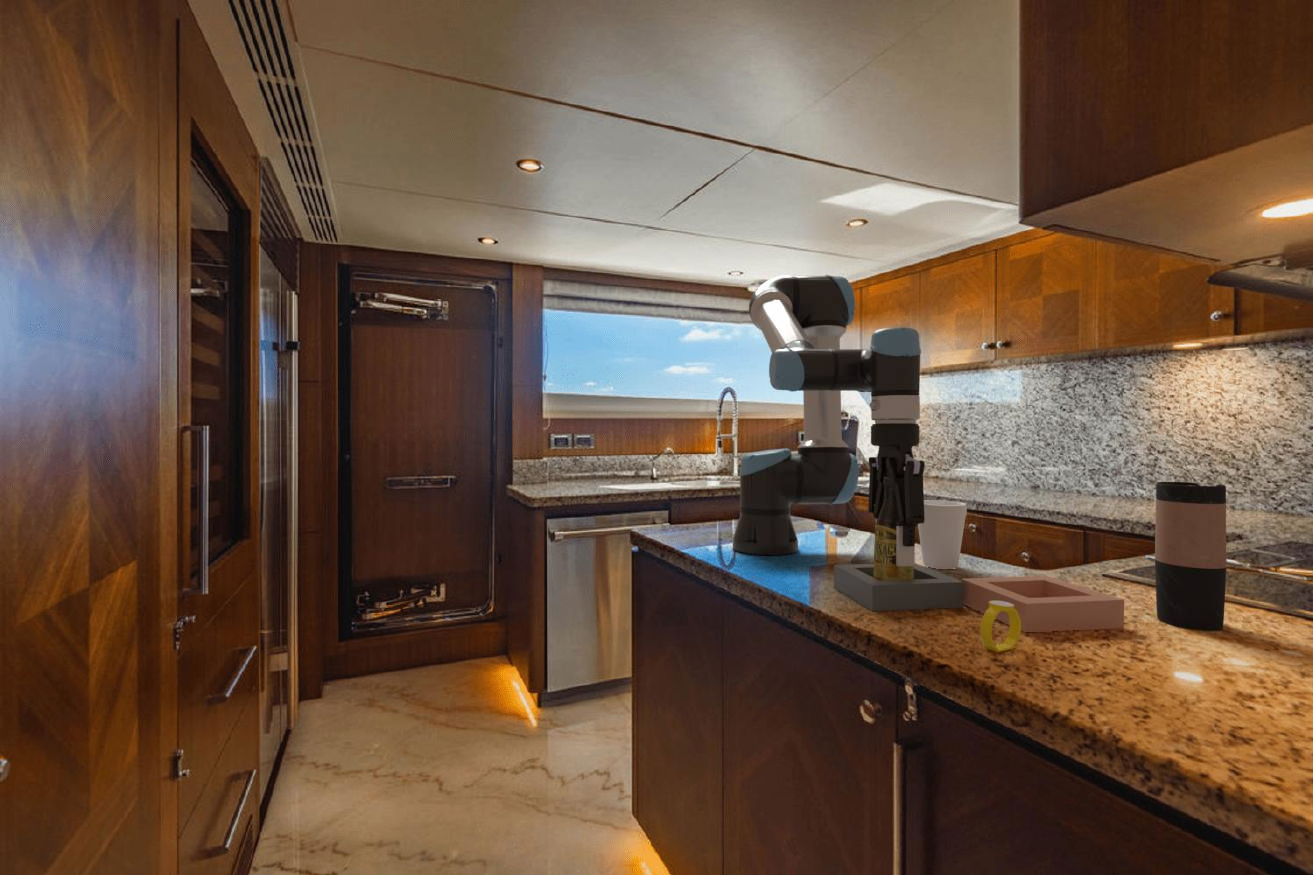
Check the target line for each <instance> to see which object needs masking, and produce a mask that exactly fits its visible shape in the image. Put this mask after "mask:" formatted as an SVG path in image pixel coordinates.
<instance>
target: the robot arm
mask: <svg viewBox="0 0 1313 875" xmlns="http://www.w3.org/2000/svg"><path fill="white" fill-rule="evenodd" d="M855 299H856V298H855V292H854V289H853V286H852V285H851V283H850V281H849V280H848V279H847V278H845V277H843V276H839V275H838V276H837V275H830V274H826V275H779V276H775V277H773V278H770V279H769V280H766V281H765V282H763V283H762V284H761V285H760V286H758V287H757V288H756V290H755V291H754V292H753V293H752V295H751V297H750V300H749V304H748V314H749V317H750V319H751V323H753V325H754V327H756V328H757V329H759V330H760V331H761V333H762V334H763V337H764V339H765V341H766V343H767V346H768V348H769V349H770V352H771V354H770V358H769V365H768V366H769V367H768V373H769V374H768V376H769V383H770V385H771V387H772V388H773V389H775V390H777V391H789V392H797V391H799V392H801V391H802V392H803V397H802V398H803V441H802V442H801V443H800V444H799V445H798V446H797V454H792V452H791V449H789V448H778V449H777V448H776V449H767V450H766V449H765V450H760V451H753V452H748V453H745V454H744V455H743V456H742V457H741V459H740V466H739V467H740V468H739V473H738V476H739V478H740V479H739V482H740V483H739V484H740V485H739V491H740V493H739V498H740V499H739V506H740V507H739V519H738V522H737V525H736V528H735V530H734V534H733V537H732V549H733V550H735V551H737V552H739V553H743V554H750V555H760V556H761V555H762V556H778V555H779V556H780V555H791V554H793V553H794V554H795V553H796V552H798V551H799V540H798V537H797V533H796V530H795V527H794V523H793V520H792V517H791V505H829V506H831V505H835V504H836V505H839V504H840V505H841V504H846V503H848V502H849V501H850V500H852V498H853V497H854V494H856V493H855V492H856V491H857V490H856V489H857V487H858V483H859V475H860V467H859V463H858V461H859V460H858V458H857V456H856V455H854V454H852V453H850V450H849V449H850V447H849V445H848V444H847V443H846V442H845V441H844V440H843V437H842V435H843V434H842V433H843V432H842V428H843V427H842V392H843V391H844V392H845V391H848V392H850V391H851V392H853V391H854V392H855V391H856V392H859V393H865V392H866V393H870V397H871V400H870V403H869V408H870V412H871V413H870V414H871V415H870V417H871V418H870V419H871V420H872V421H874V423H872V424H871V426H870V444H871V445H872V446H874V447H878V451H877V456H869V458H868V467H869V480H868V482H869V483H868V486H869V487H868V513H870V514H872V516H873V518H874V519H875V523H876V522H877V519H878V516H879V513H880V510H881V508H882V505H883V502H884V485H883V480H884V477H890V482H891V484H893V485H894V490H895V496H896V502H897V509H898V515H899V521H900V522H897V523H896V566H899V567H900V566H915V563H916V562H915V561H916V560H915V559H916V557H915V556H916V552H915V550H916V549H915V546H916V527H917V526H918V524H920V523H924V520H925V519H924V499H925V498H924V495H925V494H924V471H925V466H926V465H925V461H924V460H916V459H915V458H914V454H913V447H918V446H919V444H920V425H919V424H918V423H917V421H919V420H920V419H921V408H920V407H921V405H920V403H921V399H920V398H921V396H920V385H921V384H920V383H921V382H920V377H921V376H920V375H921V374H920V373H921V354H922V350H921V347H920V333H919V331H918V330H917V329H915V328H912V327H903V326H901V327H898V326H897V327H888V328H881V329H877V330H874V332H872V334H871V339H870V345H869V348H866V349H863V348H861V349H860V348H858V349H857V348H855V349H853V348H851V349H848V348H847V349H846V348H843V349H841V344H840V343H841V341H840V339H841V337H842V336H844V334H845V333H846V332H847V327H848V326H850V325H851V324H852V322H853V320H854V318H855V311H856V300H855ZM841 391H842V392H841Z"/></svg>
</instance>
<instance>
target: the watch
mask: <svg viewBox="0 0 1313 875" xmlns="http://www.w3.org/2000/svg"><path fill="white" fill-rule="evenodd" d="M1000 611H1006V612H1007V613H1008V615H1009V622H1010V626H1009V629H1008V632H1007V635H1006V638H1005V639H1004V640H1003V643H1000V644H996V645H995V644H994V641H993V640H994V639H993V637H992V636H993V635H992V634H993V625H994V622H995V620H996V619H995V617H996V616H997V615H998V614H999V612H1000ZM979 630H980V638H981V641H982V645H984V646H985V647H986V648H987V649H988V650H989V651H992V652H995V653H1002V652H1004V651H1011V650H1014V648H1015V647H1016V646H1017V643H1019V640H1020V637H1021V633H1022V631H1021V620H1020V617H1019V615H1018V612H1017V611H1016V609H1014V605H1013V604H1012V603H1009V602H1004V601H989V608H988V609H987V611H986V612H985V613H984V614H983V615H982V618H981V623H980V629H979Z"/></svg>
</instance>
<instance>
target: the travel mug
mask: <svg viewBox="0 0 1313 875" xmlns="http://www.w3.org/2000/svg"><path fill="white" fill-rule="evenodd" d="M1154 528H1155V533H1154V534H1155V535H1154V569H1155V570H1154V571H1155V574H1154V575H1155V593H1156V594H1155V601H1156V602H1155V603H1156V618H1157V619H1158V620H1159V621H1160V622H1163V623H1165V624H1168V625H1172V626H1175V627H1178V628H1184V629H1188V630H1189V629H1190V630H1195V631H1206V632H1207V631H1208V632H1209V631H1210V632H1211V631H1213V632H1214V631H1221V630H1223V628H1224V622H1225V621H1224V620H1225V606H1226V602H1225V600H1226V584H1227V583H1226V582H1227V581H1226V580H1227V487H1226V485H1225V484H1219V483H1218V484H1216V485H1212V486H1211V485H1200V484H1199V483H1197V482H1191V481H1190V482H1189V481H1158V482H1156V485H1155V527H1154Z"/></svg>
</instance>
